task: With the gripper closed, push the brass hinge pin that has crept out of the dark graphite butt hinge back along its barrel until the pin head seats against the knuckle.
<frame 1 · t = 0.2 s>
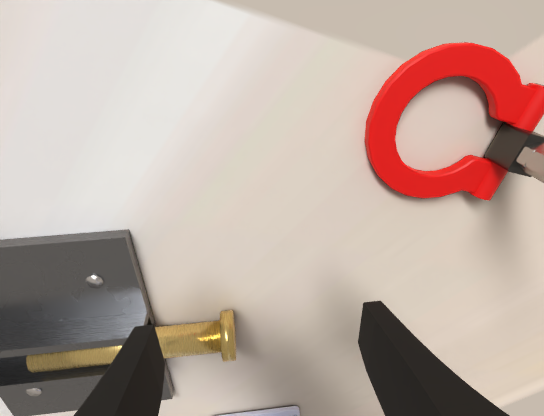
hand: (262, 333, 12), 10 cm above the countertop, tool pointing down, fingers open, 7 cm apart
tow hook: (441, 125, 20), on the countertop
pin: (137, 344, 23), point 2 cm above the countertop, slide at 4.5 cm
hinge: (66, 331, 24), on the countertop
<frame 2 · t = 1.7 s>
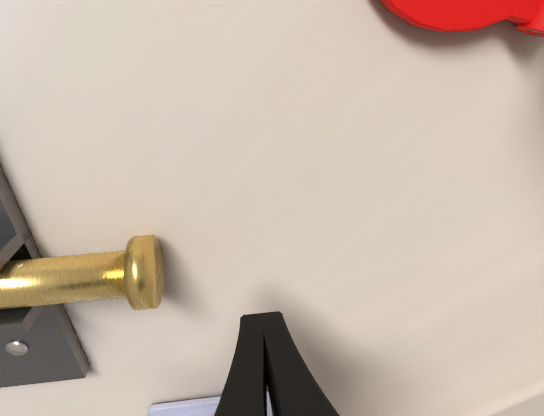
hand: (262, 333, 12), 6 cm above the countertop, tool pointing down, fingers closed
pin: (2, 285, 15), point 2 cm above the countertop, slide at 4.5 cm
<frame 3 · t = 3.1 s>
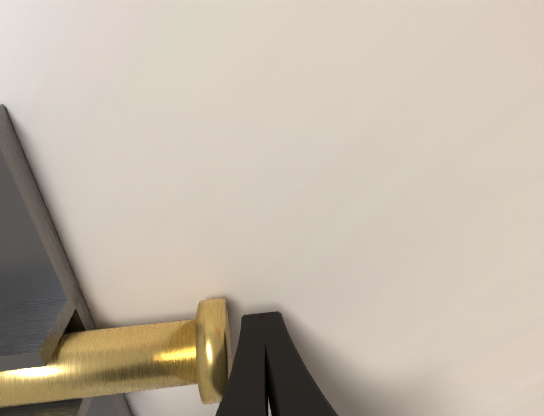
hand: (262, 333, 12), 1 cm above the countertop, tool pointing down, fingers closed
pin: (27, 369, 11), point 2 cm above the countertop, slide at 3.8 cm, touching gripper
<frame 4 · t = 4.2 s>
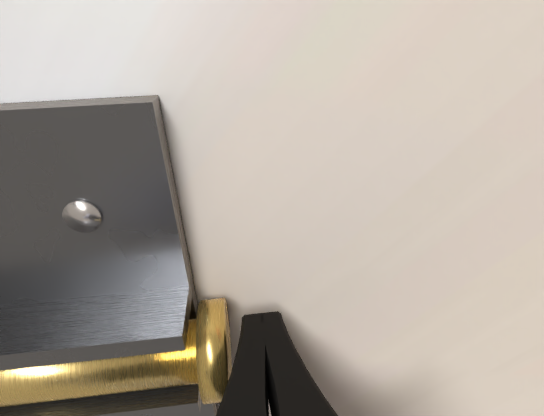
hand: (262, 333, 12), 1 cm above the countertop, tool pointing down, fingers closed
pin: (27, 369, 11), point 2 cm above the countertop, slide at 0.0 cm, touching gripper
hinge: (32, 327, 13), on the countertop
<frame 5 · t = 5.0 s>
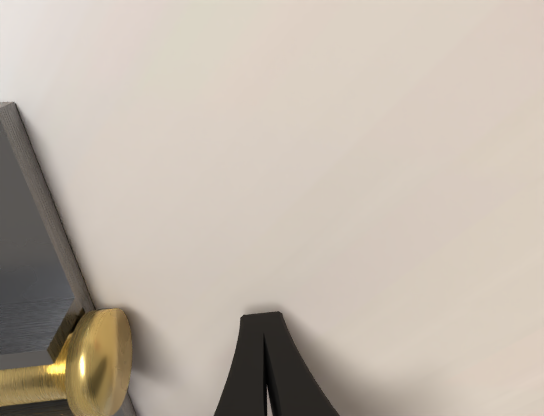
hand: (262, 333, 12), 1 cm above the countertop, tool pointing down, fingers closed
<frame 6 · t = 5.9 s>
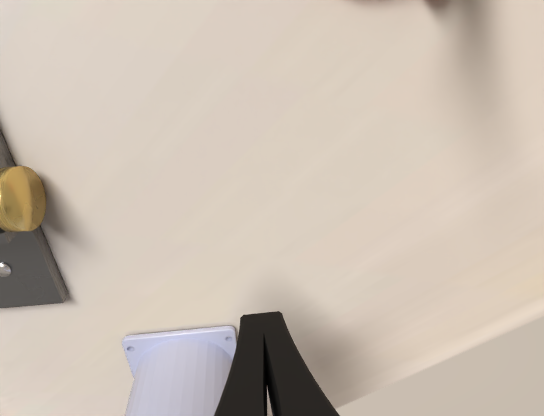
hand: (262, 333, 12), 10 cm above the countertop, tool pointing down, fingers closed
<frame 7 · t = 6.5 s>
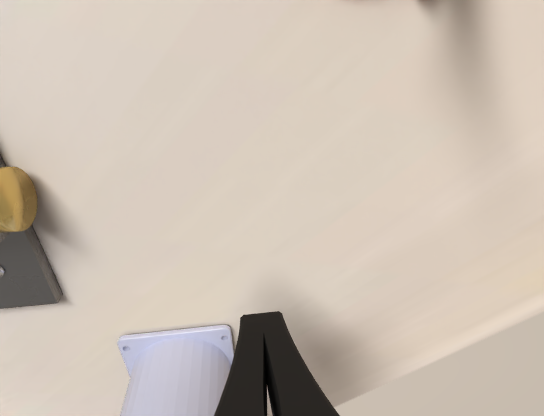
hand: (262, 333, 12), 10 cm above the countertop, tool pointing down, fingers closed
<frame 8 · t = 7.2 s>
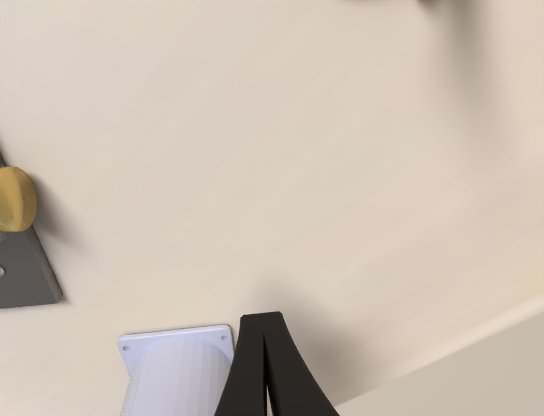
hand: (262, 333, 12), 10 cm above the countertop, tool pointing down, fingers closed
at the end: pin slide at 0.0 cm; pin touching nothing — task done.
